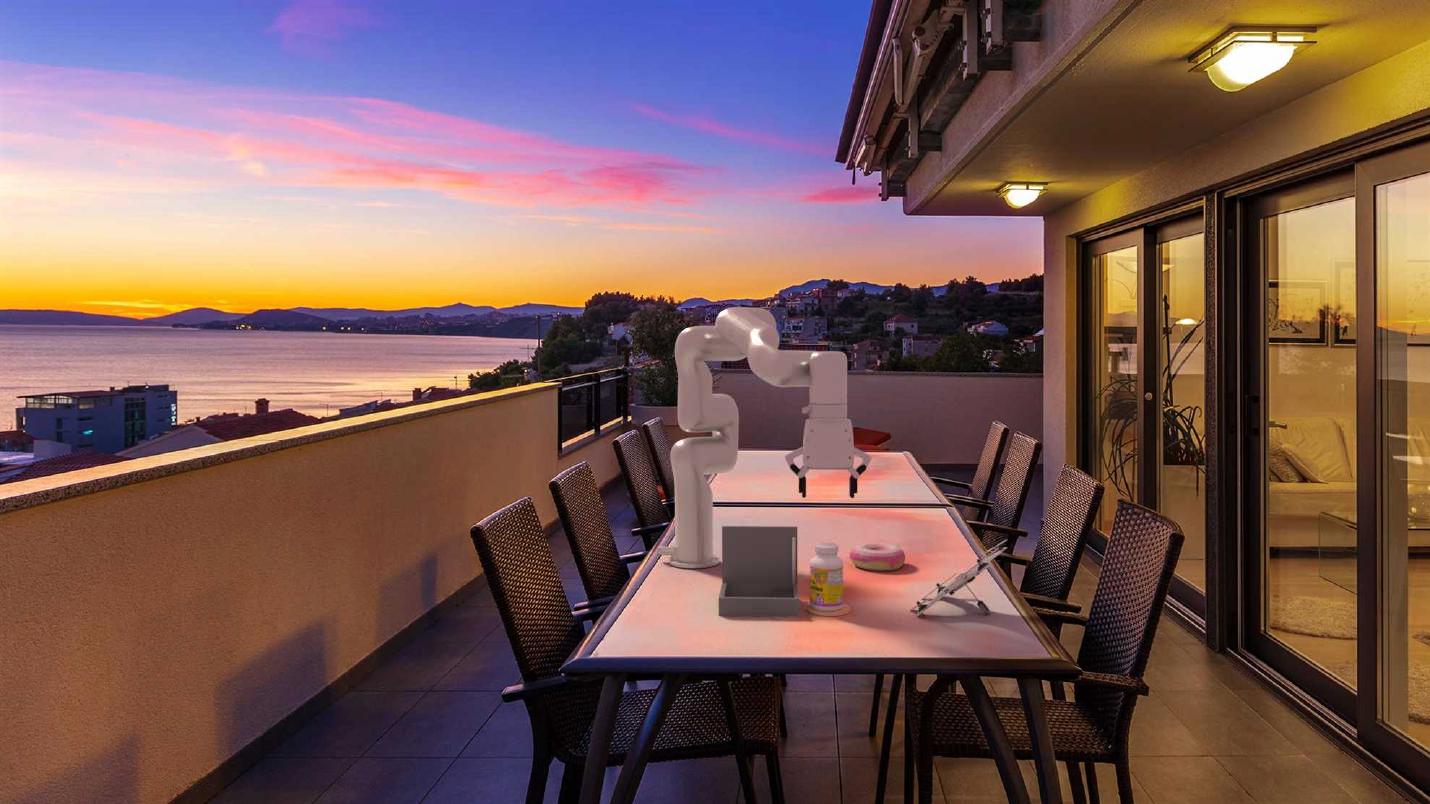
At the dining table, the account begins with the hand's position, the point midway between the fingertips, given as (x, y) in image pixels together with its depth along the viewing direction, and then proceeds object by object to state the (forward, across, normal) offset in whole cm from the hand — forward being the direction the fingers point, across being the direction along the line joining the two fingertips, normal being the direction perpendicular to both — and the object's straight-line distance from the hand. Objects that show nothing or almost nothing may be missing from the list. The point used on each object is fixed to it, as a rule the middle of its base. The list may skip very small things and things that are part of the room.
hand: (827, 496), depth 168 cm
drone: (+23, +26, +1) cm, 35 cm away
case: (+23, -14, +1) cm, 27 cm away
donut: (+24, +15, +37) cm, 47 cm away
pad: (+23, 0, 0) cm, 23 cm away
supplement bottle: (+23, 0, 0) cm, 23 cm away
